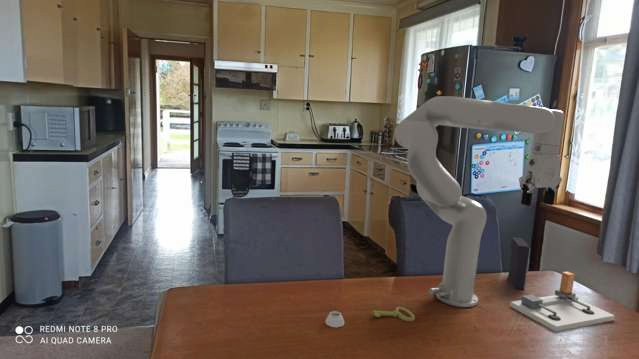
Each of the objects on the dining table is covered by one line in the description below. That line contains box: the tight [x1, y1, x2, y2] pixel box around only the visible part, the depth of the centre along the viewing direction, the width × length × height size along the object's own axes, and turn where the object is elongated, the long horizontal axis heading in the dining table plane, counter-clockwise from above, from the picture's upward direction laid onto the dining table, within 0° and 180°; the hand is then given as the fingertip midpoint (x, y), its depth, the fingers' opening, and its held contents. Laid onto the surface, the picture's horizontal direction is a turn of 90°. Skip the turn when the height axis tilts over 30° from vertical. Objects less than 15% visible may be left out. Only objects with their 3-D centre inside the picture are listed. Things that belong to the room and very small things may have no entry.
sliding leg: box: [554, 271, 590, 310], centre depth 137 cm, size 4×10×8 cm, turn 23°
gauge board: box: [509, 294, 615, 332], centre depth 135 cm, size 24×16×4 cm, turn 113°
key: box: [371, 306, 416, 322], centre depth 125 cm, size 7×12×2 cm, turn 122°
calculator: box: [507, 237, 531, 290], centre depth 156 cm, size 11×4×15 cm, turn 168°
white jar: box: [325, 310, 345, 328], centre depth 119 cm, size 5×3×5 cm
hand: (537, 204), depth 141 cm, fingers open, 9 cm apart
